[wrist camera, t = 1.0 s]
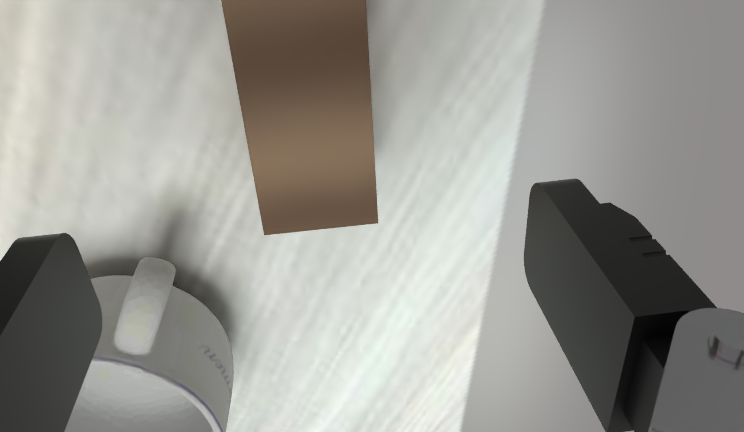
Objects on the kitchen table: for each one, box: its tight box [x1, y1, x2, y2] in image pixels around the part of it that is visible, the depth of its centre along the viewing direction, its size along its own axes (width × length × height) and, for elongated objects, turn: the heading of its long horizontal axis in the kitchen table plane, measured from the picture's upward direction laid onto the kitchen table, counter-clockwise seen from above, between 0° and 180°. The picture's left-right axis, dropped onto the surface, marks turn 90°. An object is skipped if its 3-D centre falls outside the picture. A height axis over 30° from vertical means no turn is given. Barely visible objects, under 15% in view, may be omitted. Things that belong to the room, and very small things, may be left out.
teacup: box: [64, 257, 234, 432], centre depth 29 cm, size 14×11×8 cm
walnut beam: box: [221, 0, 378, 235], centre depth 22 cm, size 14×4×6 cm, turn 3°
